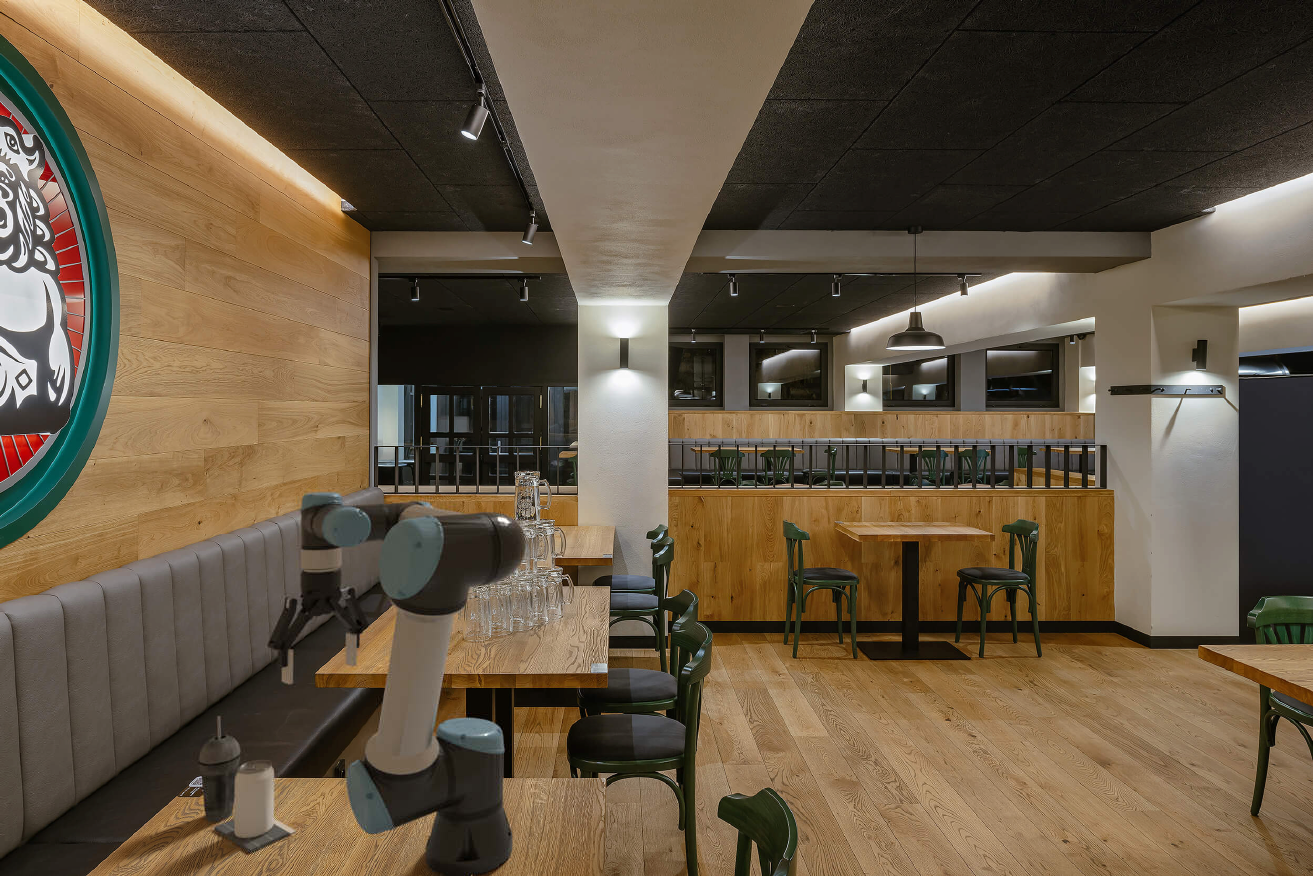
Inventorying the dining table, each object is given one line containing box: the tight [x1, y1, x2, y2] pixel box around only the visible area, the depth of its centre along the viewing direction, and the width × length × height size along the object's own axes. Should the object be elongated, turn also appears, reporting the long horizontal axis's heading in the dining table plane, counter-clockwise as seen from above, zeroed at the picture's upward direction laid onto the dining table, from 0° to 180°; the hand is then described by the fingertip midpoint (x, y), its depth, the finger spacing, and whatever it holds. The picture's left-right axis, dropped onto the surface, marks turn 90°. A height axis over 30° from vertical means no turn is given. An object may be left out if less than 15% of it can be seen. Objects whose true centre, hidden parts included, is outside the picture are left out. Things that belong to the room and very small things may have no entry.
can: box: [233, 759, 275, 839], centre depth 135 cm, size 6×6×12 cm
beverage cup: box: [197, 715, 242, 823], centre depth 141 cm, size 7×7×20 cm
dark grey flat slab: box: [214, 818, 297, 854], centre depth 136 cm, size 14×8×1 cm, turn 56°
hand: (320, 673), depth 146 cm, fingers open, 13 cm apart
